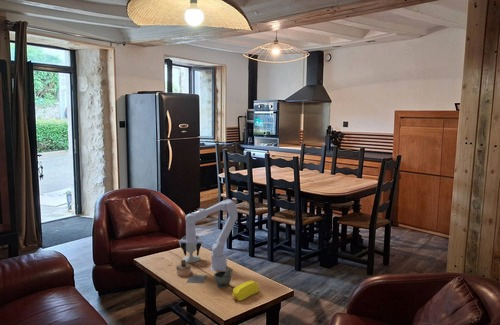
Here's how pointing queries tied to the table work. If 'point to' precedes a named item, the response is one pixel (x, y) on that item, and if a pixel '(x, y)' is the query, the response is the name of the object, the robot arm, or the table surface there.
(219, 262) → the robot arm
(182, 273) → the bowl
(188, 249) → the chalice
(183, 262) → the lid
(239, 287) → the yellow rounded block
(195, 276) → the mat
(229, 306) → the table surface
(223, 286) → the mortar and pestle
